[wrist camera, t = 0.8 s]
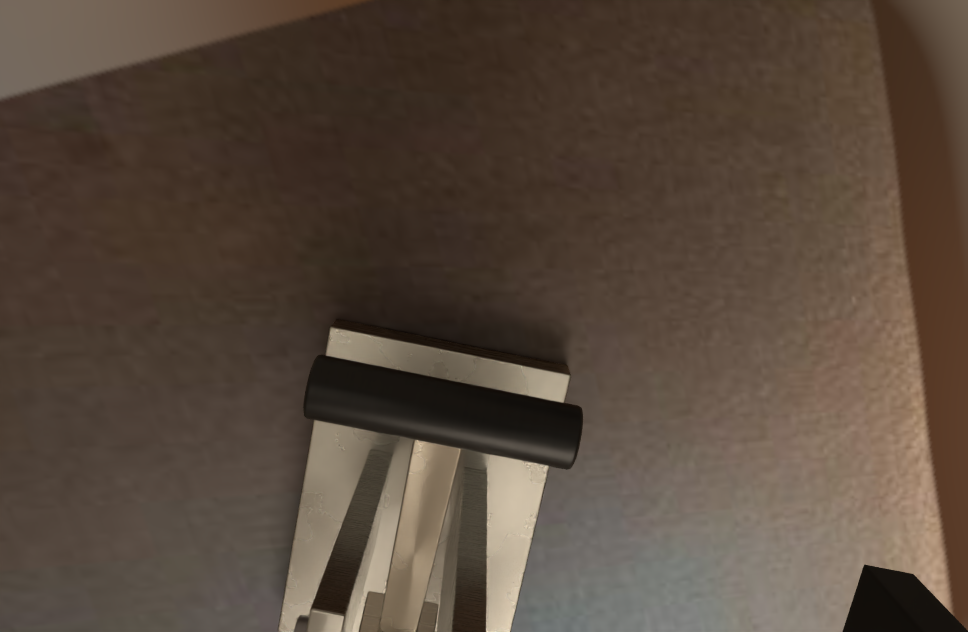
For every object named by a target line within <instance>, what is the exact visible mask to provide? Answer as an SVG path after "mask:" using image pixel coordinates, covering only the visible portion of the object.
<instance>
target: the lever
mask: <svg viewBox="0 0 968 632" xmlns="http://www.w3.org/2000/svg"><path fill="white" fill-rule="evenodd" d="M303 411H304V416H305V417H306V418H307V419H312V420H317V421H322V422H327V423H332V424H337V425H342V426H347V427H352V428H357V429H362V430H368V431H373V432H378V433H383V434H388V435H393V436H398V437H403V438H408V439H413V444H412V450H411V455H410V460H409V466H408V471H407V476H406V482H405V487H404V492H403V498H402V503H401V508H400V514H399V519H398V524H397V530H396V535H395V541H394V546H393V551H392V557H391V562H390V567H389V573H388V578H387V583H386V589H385V594H383V593H378V592H372V591H368V593H367V597H366V601H365V606H364V610H363V614H362V619H361V623H360V627H359V632H435V626H436V620H437V613H438V607H439V606H438V604H436V603H431V602H425V598H426V594H427V590H428V586H429V581H430V577H431V573H432V569H433V565H434V561H435V557H436V553H437V549H438V545H439V541H440V537H441V532H442V528H443V524H444V520H445V516H446V512H447V508H448V504H449V500H450V496H451V492H452V488H453V483H454V479H455V475H456V471H457V467H458V463H459V459H460V455H461V451H462V449H464V450H469V451H475V452H480V453H485V454H490V455H495V456H500V457H505V458H510V459H515V460H520V461H525V462H531V463H536V464H541V465H546V466H551V467H556V468H561V469H566V470H567V469H570V468H571V467H572V466H573V464H574V462H575V460H576V457H577V453H578V450H579V445H580V441H581V435H582V427H583V413H582V408H581V407H579V406H577V405H572V404H567V403H562V402H557V401H552V400H547V399H542V398H537V397H532V396H527V395H522V394H517V393H512V392H507V391H502V390H497V389H492V388H487V387H482V386H477V385H472V384H467V383H462V382H457V381H452V380H447V379H442V378H437V377H432V376H427V375H422V374H417V373H412V372H407V371H402V370H397V369H392V368H386V367H381V366H376V365H371V364H366V363H361V362H356V361H351V360H346V359H341V358H336V357H331V356H326V355H318V356H317V357H316V359H315V360H314V363H313V365H312V368H311V371H310V374H309V378H308V382H307V386H306V391H305V397H304V407H303Z"/></svg>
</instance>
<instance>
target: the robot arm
mask: <svg viewBox="0 0 968 632" xmlns="http://www.w3.org/2000/svg"><path fill="white" fill-rule="evenodd" d="M843 632H968V631H967V630H966V629H965V628H964V626H962V624H961V623H959V621H958V620H957V619H956V618H955V617H954V616H953V615H952V614H951V613H950V612H949V611H948V610H947V609H946V608H945V607H944V606H943V605H942V604H941V603H940V601H939V600H938V599H937V598H936V597H935V596H934V595H933V594H932V593H931V592H930V591H929V590H928V589H927V588H926V587H925V586H924V585H923V584H922V583H921V582H920V581H919V580H918V579H917V577H916V576H915V575H914V574H910V573H905V572H900V571H894V570H889V569H884V568H879V567H874V566H868V565H864V567H863V570H862V573H861V576H860V580H859V583H858V586H857V589H856V592H855V595H854V598H853V601H852V604H851V607H850V611H849V614H848V617H847V620H846V623H845V626H844V629H843Z"/></svg>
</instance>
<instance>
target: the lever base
mask: <svg viewBox="0 0 968 632" xmlns="http://www.w3.org/2000/svg"><path fill="white" fill-rule="evenodd" d="M325 355H326V356H331V357H336V358H341V359H346V360H351V361H356V362H361V363H366V364H371V365H376V366H381V367H386V368H392V369H397V370H402V371H407V372H412V373H417V374H422V375H427V376H432V377H437V378H442V379H447V380H452V381H457V382H462V383H467V384H472V385H477V386H482V387H487V388H492V389H497V390H502V391H507V392H512V393H517V394H522V395H527V396H532V397H537V398H542V399H547V400H552V401H557V402H562V403H565V400H566V395H567V391H568V387H569V383H570V378H571V374H570V371H569V368H568V366H567V365H563V364H558V363H553V362H548V361H543V360H539V359H534V358H529V357H524V356H519V355H514V354H509V353H504V352H499V351H494V350H489V349H484V348H479V347H474V346H469V345H464V344H459V343H454V342H449V341H444V340H439V339H434V338H429V337H424V336H419V335H414V334H409V333H404V332H399V331H394V330H389V329H384V328H379V327H374V326H369V325H364V324H359V323H354V322H349V321H344V320H339V319H336V320H335V322H334V323H333V324H332V325H331V327H330V329H329V334H328V340H327V346H326V352H325ZM412 444H413V439H408V438H403V437H398V436H393V435H388V434H383V433H378V432H373V431H368V430H362V429H357V428H352V427H347V426H342V425H337V424H332V423H327V422H322V421H317V420H314V422H313V428H312V433H311V439H310V445H309V451H308V457H307V462H306V468H305V474H304V480H303V486H302V491H301V497H300V503H299V509H298V515H297V521H296V526H295V532H294V538H293V544H292V550H291V555H290V561H289V567H288V573H287V579H286V585H285V590H284V596H283V602H282V608H281V614H280V619H279V625H278V631H279V632H359V627H360V623H361V619H362V614H363V610H364V606H365V601H366V597H367V593H368V591H372V592H378V593H383V594H385V589H386V583H387V578H388V573H389V567H390V562H391V557H392V551H393V546H394V541H395V535H396V530H397V524H398V519H399V514H400V508H401V503H402V498H403V492H404V487H405V482H406V476H407V471H408V466H409V460H410V455H411V450H412ZM549 467H550V466H546V465H541V464H536V463H531V462H525V461H520V460H515V459H510V458H505V457H500V456H495V455H490V454H485V453H480V452H475V451H469V450H464V449H462V451H461V455H460V459H459V463H458V467H457V471H456V475H455V479H454V483H453V488H452V492H451V496H450V500H449V504H448V508H447V512H446V516H445V520H444V524H443V528H442V532H441V537H440V541H439V545H438V549H437V553H436V557H435V561H434V565H433V569H432V573H431V577H430V581H429V586H428V590H427V594H426V598H425V602H431V603H436V604H438V606H439V607H438V613H437V620H436V626H435V632H511V628H512V624H513V620H514V616H515V612H516V607H517V603H518V599H519V595H520V590H521V586H522V582H523V578H524V573H525V569H526V565H527V561H528V556H529V552H530V548H531V544H532V539H533V535H534V531H535V527H536V522H537V518H538V514H539V510H540V506H541V501H542V497H543V493H544V489H545V484H546V480H547V476H548V472H549Z"/></svg>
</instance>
